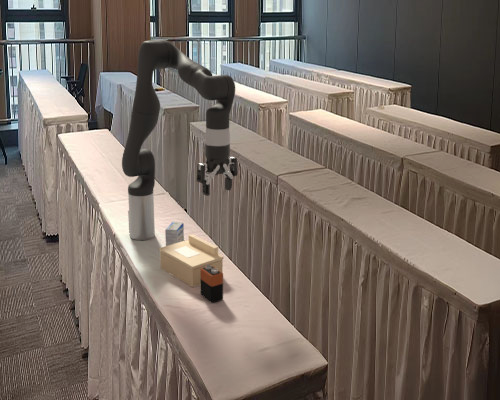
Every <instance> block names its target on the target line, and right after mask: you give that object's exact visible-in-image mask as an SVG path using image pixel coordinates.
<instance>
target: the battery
mask: <svg viewBox="0 0 500 400" xmlns="http://www.w3.org/2000/svg"><path fill="white" fill-rule="evenodd" d="M200 271H201V285H200V295H201V296H202V298H204V299H206V300H207V301H208V302H210V303H211V304H212V303H216V302H217V303H218V302H220V301H222V300H224V273H223V271H222V272H221V271H219V270H218V269H216V268H215V267H213V266H211V265H207V266H206V267H204V268H201V270H200Z"/></svg>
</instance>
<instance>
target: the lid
mask: <svg viewBox="0 0 500 400" xmlns="http://www.w3.org/2000/svg"><path fill="white" fill-rule="evenodd" d="M158 250H159V253H160V252H162V253H164V254H166V255H167V256H169V257H171V258H173V259H175V260H176V261H178V262H180V263H182V264H183V265H185V266H187V267H189V268H190V269H192V270H193V269H196V268H199V267H202V266H205V265H208V264H211V263H214V262H217V261H220V260H223V261H224V255H222V254H219V246H218V245H216V244H213V243H211V242H209V241H207V240H205V239H203V238H201V237H199V236H197V235H195V234H194V233H193V234H188V239H186V240H185V239H184V241H182V242H179V243H175V244H172V245H169V246H166V245H165V246H162V247H159V249H158Z"/></svg>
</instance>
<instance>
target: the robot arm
mask: <svg viewBox="0 0 500 400" xmlns="http://www.w3.org/2000/svg"><path fill="white" fill-rule="evenodd" d="M165 69H171V70H175V71H177V73H178V76H179V78H180V79H181V80H182V81H183V82H184V83H185V84H187V85H189V86H190V87H192V88H194V89H195V90H196V92H197V93H198V94H199V95H200V96H201V97H202V98H203V99H205V100H206V101H216V102H215V104H214V105H213V106H211V107H209V108H207V110H206V112H205V134H204V137H205V138H204V139H205V140H204V144H205V145H204V149H205V150H204V155H205V159H206V160H205V162H204V163H200V162H198V163H196V165H197V166H196V182H197V183H199V184H202V187H201V188H202V191H201V192H202V194H203V195H204V196H205V197H209V196H210V193H211V191H210V188H211V185H210V183H211V180H212V179H214V177H215V176H218V175H223V176H224V177H225V178H224V189H225V190H226V191H231V190H232V187H233V178H234V177H237V176H238V159H237V157H235V156H231V153H230V152H231V132H230V113H231V110H232V107H233V103H234V99H235V96H236V84H235V80H234V79H233V77H231V76H230V75H228V74H220V75H213V73H212V72H211V70H210V69H209V68H208V67H206V66H203V65H202V64H201V63H198V62H197V61H194V60H193V59H191V58H190V57H188V56H187V55H186V54H185V53H183V51H181V50H180V48H178V47H177V46H176V45H175V44H173V43H172V42H170V41H169V40H165V39H156V40H155V39H154V40H145V41H143V42H142V43H141V44H140V46H139V49H138V56H137V71H136V85H135V89H134V91H135V92H134V98H133V103H132V109H131V116H130V122H129V123H130V124H129V128H128V129H129V130H128V133H127V134H128V135H127V137H126V142H125V146H124V150H123V153H122V157H121V158H122V159H121V168H122V172H123V173H124V175H125V176H126V177H129V178H133V177H137V178H136V179H134V181H132V182H131V183H129V185H128V186H127V194H128V196H127V197H128V210H127V214H128V215H127V216H128V234H129V233H130V234H129V237H130V238H131V239H133V240H137V241H145V240H147V241H148V240H151V239H153V238H154V237H155V236H156V234H155V233H156V231H155V230H156V229H155V225H156V223H155V203H154V201H155V200H154V198H155V197H154V194H155V193H154V188H155V184H156V182H155V181H156V180H155V179H156V160H155V156H154V154H153V152H152V150H150V149H149V148H142V146H143V144H144V143H145V141H146V139H148V138H149V136H150V135H151V134H152V132H153V131H154V130H155V128H156V126H157V124H158V121H159V116H160V111H161V102H160V99H159V97H158V93H156V90H155V89H154V86H153V76H154V71H155V70H165ZM228 166H229V167H228Z"/></svg>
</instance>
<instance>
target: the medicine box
mask: <svg viewBox="0 0 500 400" xmlns="http://www.w3.org/2000/svg"><path fill="white" fill-rule="evenodd" d="M184 227H185V226H184V222H177V221H172V222H171V223H170V224H169V225H168V227H166V228H165V229H164V230H165V232H164V233H165V246H169V245H172V244H175V243H179V242H182V241H185V235H184V233H185V230H184V229H185V228H184Z"/></svg>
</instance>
